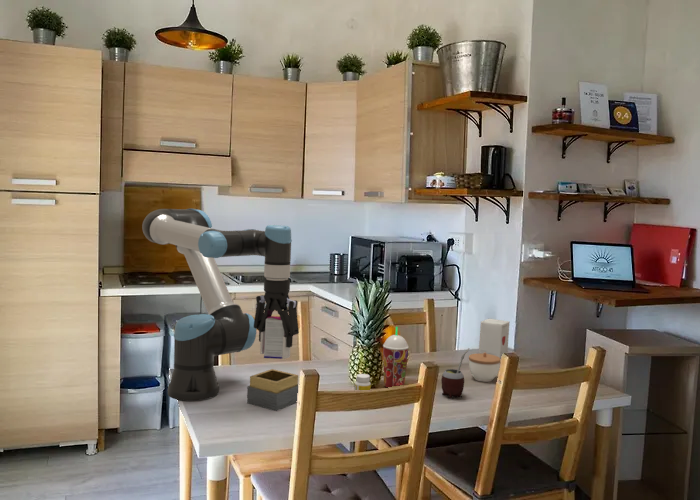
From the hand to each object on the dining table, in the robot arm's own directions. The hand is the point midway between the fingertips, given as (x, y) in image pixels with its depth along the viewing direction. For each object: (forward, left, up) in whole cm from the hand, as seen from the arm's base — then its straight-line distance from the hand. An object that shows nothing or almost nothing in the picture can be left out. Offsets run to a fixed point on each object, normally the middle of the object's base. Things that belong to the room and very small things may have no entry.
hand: (275, 355), depth 185 cm
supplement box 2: (+34, +93, -14) cm, 100 cm away
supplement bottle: (+21, +16, -14) cm, 30 cm away
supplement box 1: (0, 0, 0) cm, 0 cm away
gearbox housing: (0, 0, -14) cm, 14 cm away
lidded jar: (+41, +64, -14) cm, 77 cm away
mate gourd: (+40, +40, -14) cm, 58 cm away
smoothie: (+21, +36, -14) cm, 44 cm away
